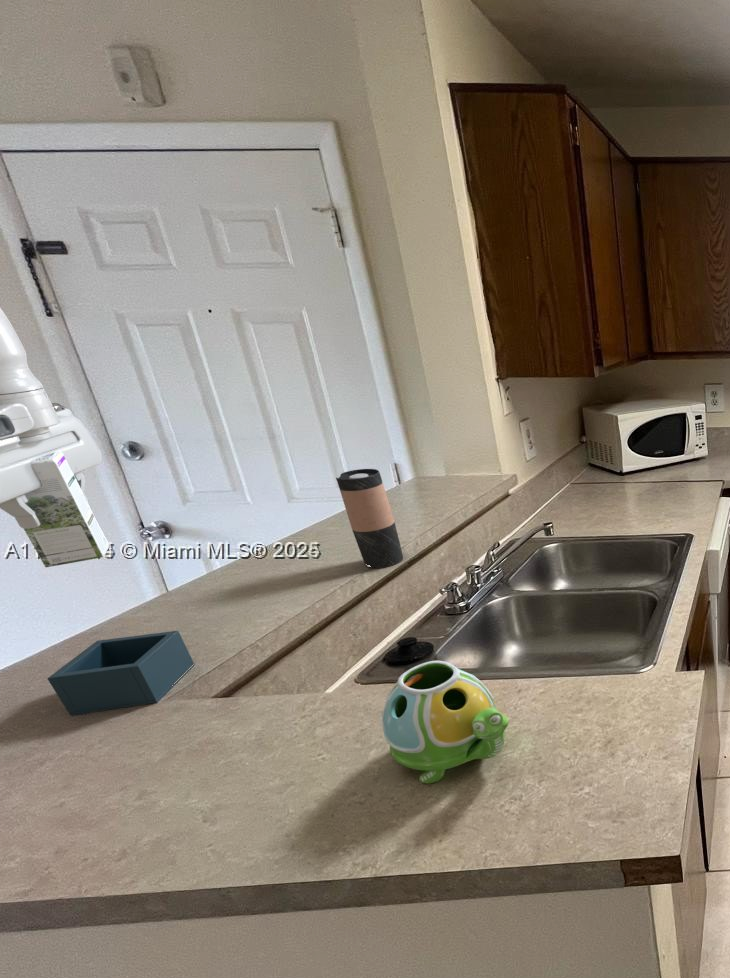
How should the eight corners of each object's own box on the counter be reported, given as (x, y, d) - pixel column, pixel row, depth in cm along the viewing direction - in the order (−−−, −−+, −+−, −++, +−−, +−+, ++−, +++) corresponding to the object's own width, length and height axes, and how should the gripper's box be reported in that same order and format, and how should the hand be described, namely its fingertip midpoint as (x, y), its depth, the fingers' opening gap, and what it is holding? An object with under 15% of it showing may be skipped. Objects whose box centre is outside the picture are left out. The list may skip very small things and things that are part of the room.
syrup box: (111, 545, 90) (62, 449, 84) (104, 558, 86) (53, 458, 80) (53, 555, 87) (-1, 455, 81) (44, 569, 82) (-15, 465, 76)
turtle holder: (468, 811, 72) (444, 732, 67) (372, 762, 79) (345, 687, 74) (549, 745, 82) (533, 672, 77) (458, 706, 89) (438, 637, 84)
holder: (69, 715, 87) (46, 678, 84) (116, 675, 95) (97, 640, 93) (157, 702, 90) (137, 666, 87) (195, 664, 98) (178, 630, 96)
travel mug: (412, 559, 135) (387, 472, 126) (375, 572, 129) (347, 481, 120) (393, 551, 138) (367, 466, 130) (356, 564, 132) (327, 475, 124)
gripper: (34, 401, 86) (81, 494, 92) (-108, 434, 68) (-39, 547, 74) (91, 398, 88) (134, 490, 93) (-33, 431, 70) (29, 541, 76)
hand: (57, 515), depth 84 cm, fingers closed on syrup box, 7 cm apart
